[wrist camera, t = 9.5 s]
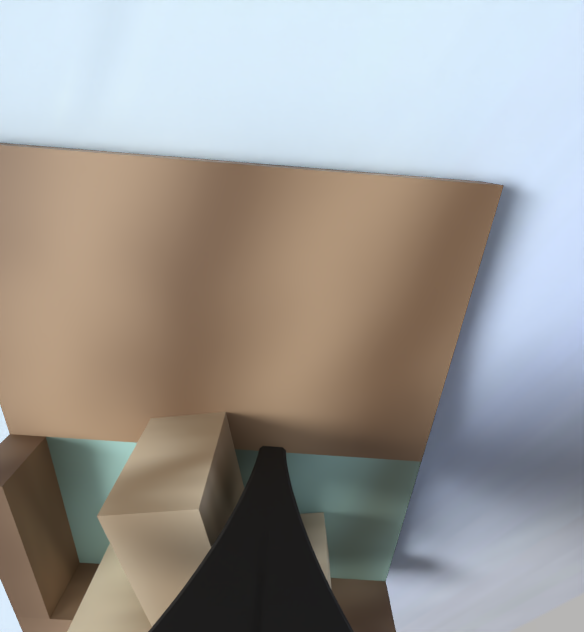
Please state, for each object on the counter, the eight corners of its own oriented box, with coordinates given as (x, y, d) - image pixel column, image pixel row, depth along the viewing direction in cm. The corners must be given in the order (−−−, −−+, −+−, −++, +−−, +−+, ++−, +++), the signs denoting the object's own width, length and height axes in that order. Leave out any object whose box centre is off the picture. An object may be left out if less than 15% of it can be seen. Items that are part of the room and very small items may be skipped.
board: (480, 181, 10) (556, 194, 7) (375, 569, 17) (391, 655, 14) (-42, 139, 10) (-189, 134, 7) (71, 550, 17) (24, 634, 14)
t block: (310, 404, 12) (314, 501, 8) (329, 554, 15) (337, 666, 11) (70, 425, 12) (-12, 523, 9) (136, 566, 15) (93, 676, 12)
